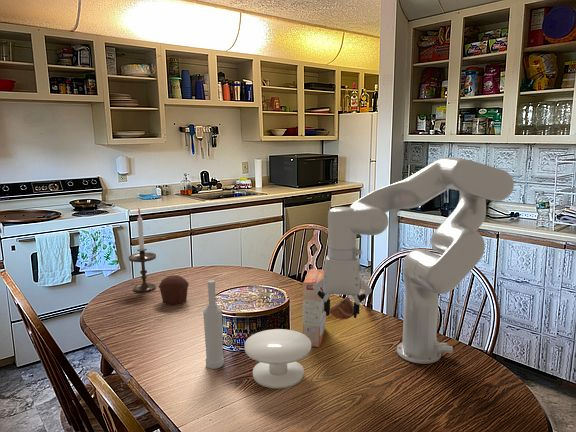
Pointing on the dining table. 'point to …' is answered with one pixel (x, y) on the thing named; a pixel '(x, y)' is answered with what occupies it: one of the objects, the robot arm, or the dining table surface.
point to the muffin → (174, 290)
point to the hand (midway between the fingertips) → (341, 314)
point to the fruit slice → (343, 309)
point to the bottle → (213, 330)
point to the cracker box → (313, 308)
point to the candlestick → (142, 260)
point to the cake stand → (278, 357)
